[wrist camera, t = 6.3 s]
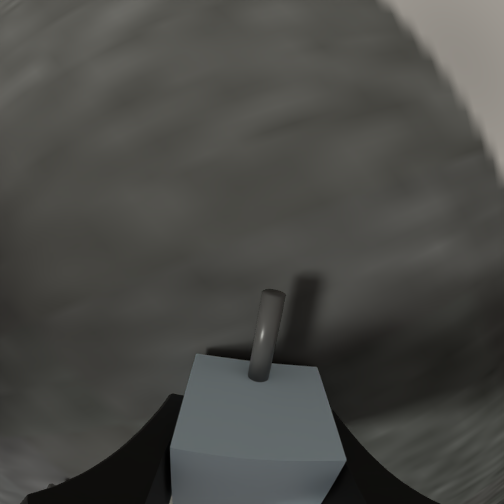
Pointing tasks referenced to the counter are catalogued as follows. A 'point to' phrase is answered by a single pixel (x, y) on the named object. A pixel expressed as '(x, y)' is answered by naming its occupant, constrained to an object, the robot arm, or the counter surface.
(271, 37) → the counter surface
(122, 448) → the robot arm
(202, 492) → the charger
